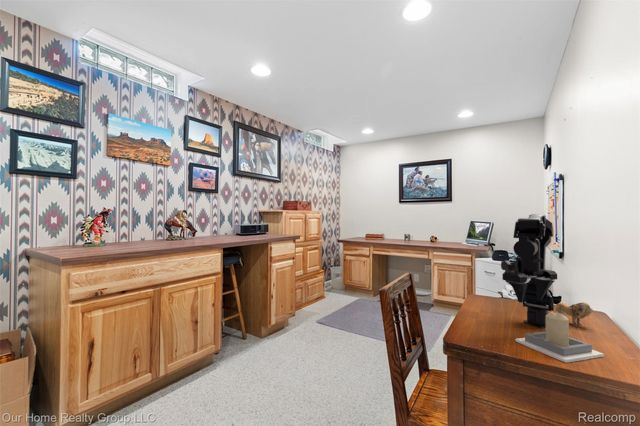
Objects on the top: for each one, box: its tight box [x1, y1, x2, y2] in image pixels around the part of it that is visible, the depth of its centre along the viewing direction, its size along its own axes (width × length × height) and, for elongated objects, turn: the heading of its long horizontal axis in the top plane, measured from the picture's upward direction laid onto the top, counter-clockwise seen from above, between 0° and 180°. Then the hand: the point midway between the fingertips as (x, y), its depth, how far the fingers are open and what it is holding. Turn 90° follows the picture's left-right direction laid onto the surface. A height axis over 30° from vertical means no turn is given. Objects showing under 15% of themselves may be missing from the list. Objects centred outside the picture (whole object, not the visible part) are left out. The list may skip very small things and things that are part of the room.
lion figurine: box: [554, 301, 593, 327], centre depth 115 cm, size 15×5×9 cm, turn 14°
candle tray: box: [515, 331, 604, 364], centre depth 90 cm, size 15×15×3 cm
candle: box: [545, 311, 570, 347], centre depth 90 cm, size 6×6×10 cm
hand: (530, 301), depth 100 cm, fingers open, 9 cm apart
